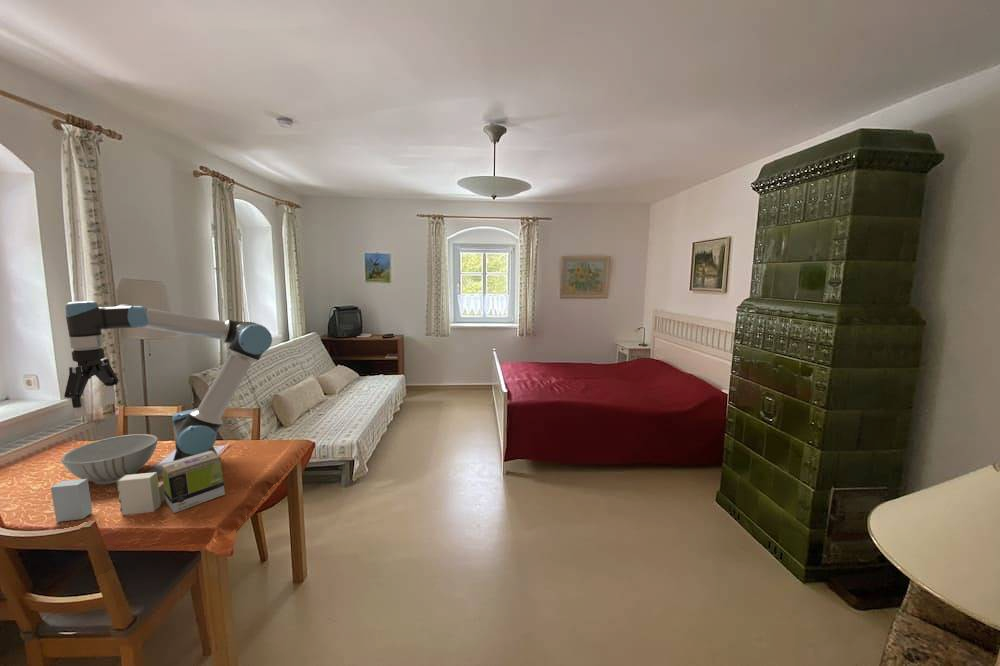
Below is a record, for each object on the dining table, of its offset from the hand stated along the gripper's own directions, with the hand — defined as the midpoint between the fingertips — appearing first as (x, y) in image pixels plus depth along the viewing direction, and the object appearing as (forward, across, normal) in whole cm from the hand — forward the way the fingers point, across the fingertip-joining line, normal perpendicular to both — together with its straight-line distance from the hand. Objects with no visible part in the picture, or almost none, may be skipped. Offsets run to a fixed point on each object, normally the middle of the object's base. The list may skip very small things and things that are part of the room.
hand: (96, 409), depth 135 cm
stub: (+33, +10, -3) cm, 34 cm away
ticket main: (+33, +8, +15) cm, 37 cm away
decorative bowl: (+33, -19, -9) cm, 39 cm away
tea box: (+33, +7, +29) cm, 45 cm away
